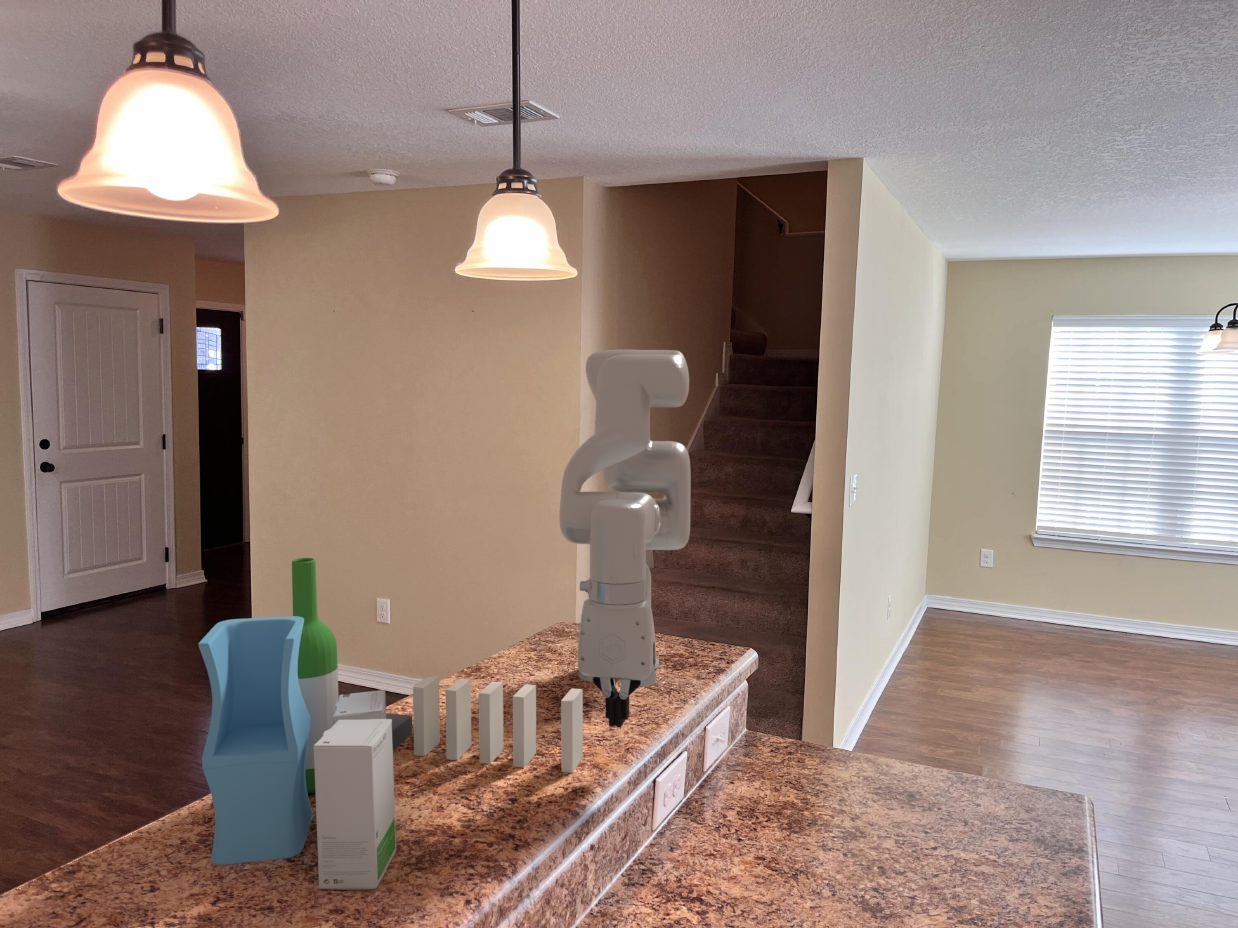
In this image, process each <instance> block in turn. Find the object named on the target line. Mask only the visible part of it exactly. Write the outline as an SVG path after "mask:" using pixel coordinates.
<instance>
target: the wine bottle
mask: <svg viewBox="0 0 1238 928" xmlns="http://www.w3.org/2000/svg"><path fill="white" fill-rule="evenodd" d="M291 583H292V584H291V586H292V588H291V589H292V616H299V617H303V618H304V624H303V629H302V634H301V640H300V646H299V654H298V671H297V674H298V681H299V686H300V690H301V694H302V697H303V700H304V703H305V705H306V708H307V710H308V712H309V715H310V726H311V727H310V732H309V739H308V745H307V753H306V766H305V777H306V787H307V793H308V794H314V793H316V792H315V768H314V745H315V744H316V743H317V742H318V741H319V740H320V739H321V738H322V737H323V733H324V732H325V731H327V730H329V729H330V728H331V727H332V726H333V715H334V713H335V710H336V706H335V704H336V703H337V702H338V698H339V671H338V670H339V669H338V666H339V665H338V645H337V640H336V637H335V634H334V632H333V630H332V629H331V628H330V627H329V626H328V625H327V624H325V623H324V622H323V621H321V620H320V619H319V616H318V597H317V596H318V595H317V569H316V559H315V558H314V557H313V558H311V557H302V558H301V557H299V558H296V559H293V560H292V561H291Z"/></svg>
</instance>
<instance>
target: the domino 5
mask: <svg viewBox="0 0 1238 928" xmlns="http://www.w3.org/2000/svg"><path fill="white" fill-rule="evenodd" d="M583 691H584V690H583V688H572V687H571V688H570V690H569V691H568V692H567V693H566V694H565V696H564V697H563V698H561V701H560V712H561V713H560V717H561V718H560V724H561V725H560V731H561V733H560V737H561V739H560V742H561V743H560V745H561V747H560V749H561V751H560V755H561V756H560V757H561V761H560V763H561V765H560V766H561V767H560V768H561V769H560V770H561V772H562V773H570V774H573V773H574V771H576V769H577V767H578V766H579V764H580V763H581V761H582V760H583V758H584V756H583V754H584V752H583V750H584V749H583V748H584V743H583V742H584V741H583V738H584V735H583V731H584V730H583V727H584V726H583V725H584V723H583V721H584V720H583V715H584V714H583V713H584V712H583V710H584V709H583V708H584V707H583V706H584V705H583V704H584V703H583V701H584V699H583V697H584V696H583V694H584V693H583Z"/></svg>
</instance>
